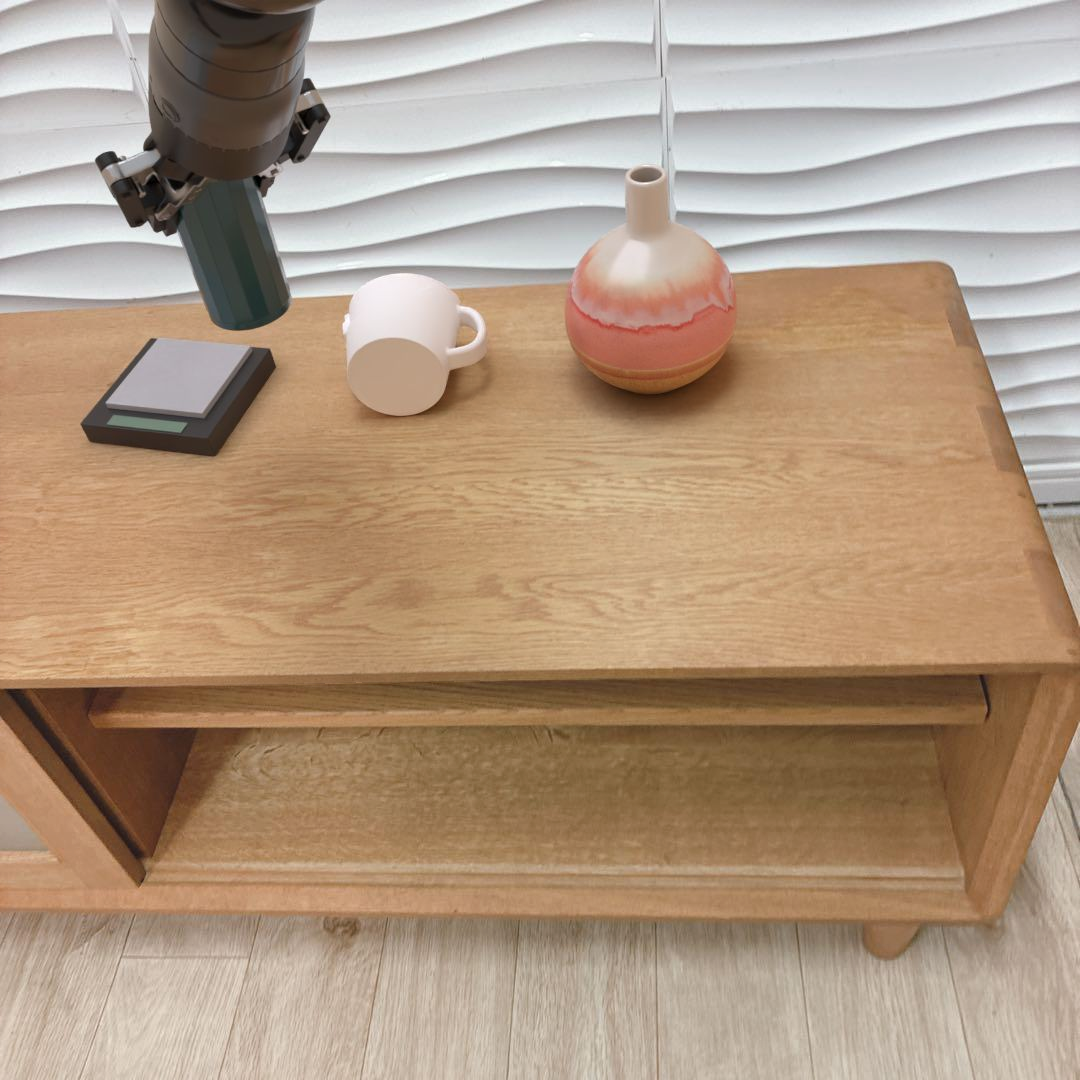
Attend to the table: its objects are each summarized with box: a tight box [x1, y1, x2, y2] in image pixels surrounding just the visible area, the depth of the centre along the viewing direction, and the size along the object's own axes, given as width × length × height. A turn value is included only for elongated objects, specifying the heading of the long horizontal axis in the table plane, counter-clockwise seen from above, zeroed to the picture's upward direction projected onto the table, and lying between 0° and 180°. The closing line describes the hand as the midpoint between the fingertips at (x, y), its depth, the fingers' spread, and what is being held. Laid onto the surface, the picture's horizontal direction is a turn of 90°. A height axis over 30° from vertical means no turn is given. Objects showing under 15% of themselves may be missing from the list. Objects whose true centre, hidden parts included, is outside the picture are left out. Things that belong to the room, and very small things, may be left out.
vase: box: [564, 163, 738, 395], centre depth 84 cm, size 14×14×18 cm
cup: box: [176, 176, 293, 332], centre depth 72 cm, size 6×6×11 cm
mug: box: [342, 272, 489, 417], centre depth 89 cm, size 12×9×8 cm
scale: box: [80, 337, 277, 457], centre depth 92 cm, size 12×12×3 cm
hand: (208, 203), depth 71 cm, fingers closed on cup, 6 cm apart
